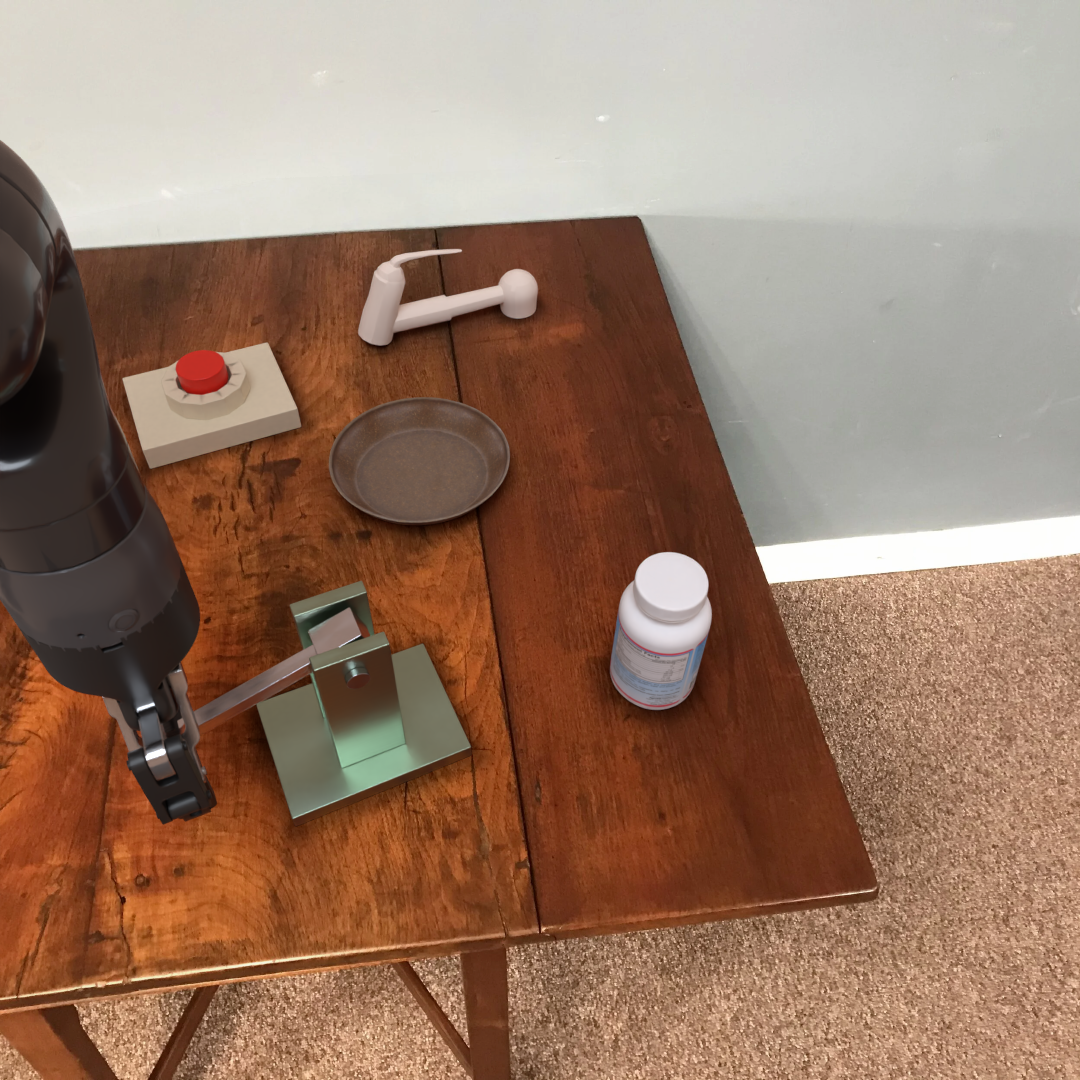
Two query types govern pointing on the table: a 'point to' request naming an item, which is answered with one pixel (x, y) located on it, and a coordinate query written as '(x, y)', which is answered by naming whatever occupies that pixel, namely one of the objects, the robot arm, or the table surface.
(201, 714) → the tap handle
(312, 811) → the bracket
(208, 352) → the button
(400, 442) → the saucer
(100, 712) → the table surface
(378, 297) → the faucet
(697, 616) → the pill bottle
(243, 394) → the button box
